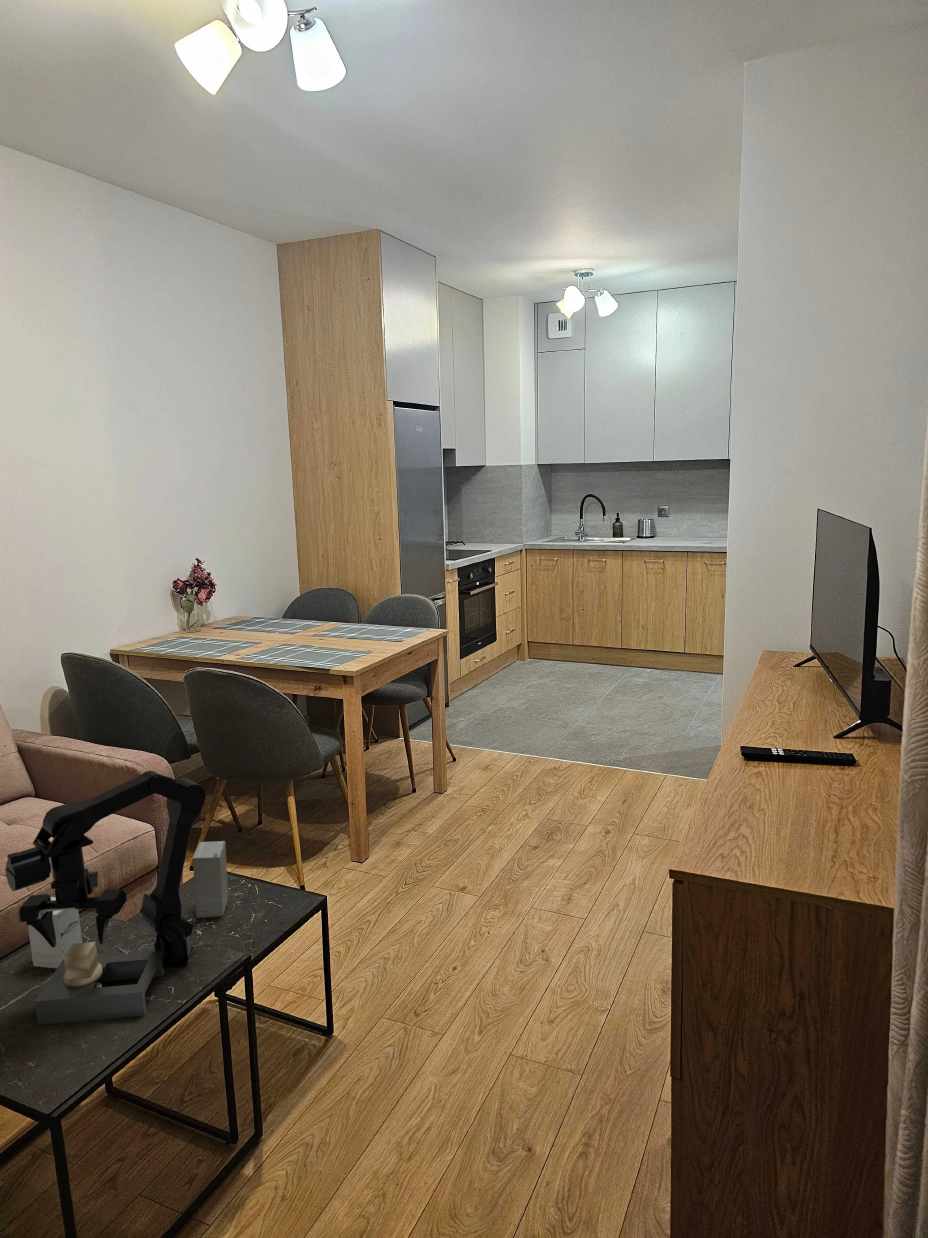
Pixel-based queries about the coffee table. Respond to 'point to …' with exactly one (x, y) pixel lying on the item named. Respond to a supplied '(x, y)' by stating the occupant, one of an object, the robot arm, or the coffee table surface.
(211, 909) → the skincare box
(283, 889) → the coffee table surface
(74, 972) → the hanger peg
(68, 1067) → the coffee table surface
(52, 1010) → the keyhole plate
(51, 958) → the supplement box
